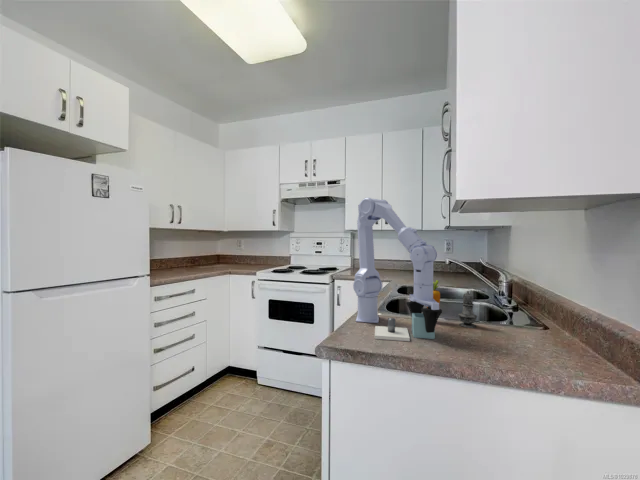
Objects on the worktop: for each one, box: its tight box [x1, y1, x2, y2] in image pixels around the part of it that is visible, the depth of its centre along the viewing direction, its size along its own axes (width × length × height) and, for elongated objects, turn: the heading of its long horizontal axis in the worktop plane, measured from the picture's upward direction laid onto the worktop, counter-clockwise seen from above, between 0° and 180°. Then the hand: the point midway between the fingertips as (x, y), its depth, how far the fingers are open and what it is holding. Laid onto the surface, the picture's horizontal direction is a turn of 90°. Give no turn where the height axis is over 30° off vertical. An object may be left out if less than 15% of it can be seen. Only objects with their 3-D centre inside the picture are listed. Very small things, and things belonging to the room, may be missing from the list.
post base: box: [374, 317, 411, 342], centre depth 93 cm, size 10×10×5 cm
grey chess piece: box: [458, 290, 478, 329], centre depth 104 cm, size 6×6×12 cm
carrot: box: [426, 279, 441, 308], centre depth 108 cm, size 5×5×15 cm
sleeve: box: [411, 312, 436, 340], centre depth 94 cm, size 6×6×6 cm
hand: (423, 328), depth 94 cm, fingers closed on sleeve, 7 cm apart
